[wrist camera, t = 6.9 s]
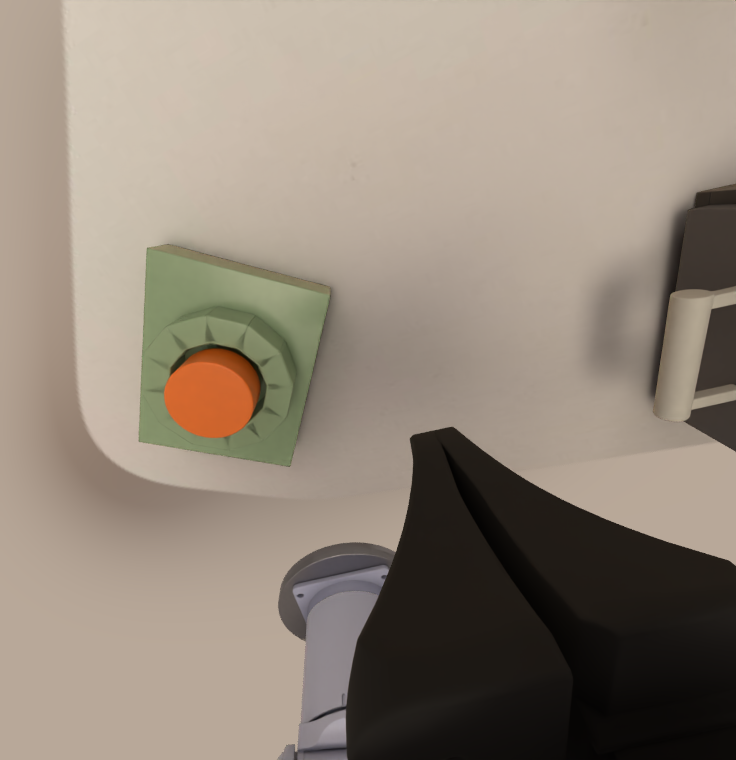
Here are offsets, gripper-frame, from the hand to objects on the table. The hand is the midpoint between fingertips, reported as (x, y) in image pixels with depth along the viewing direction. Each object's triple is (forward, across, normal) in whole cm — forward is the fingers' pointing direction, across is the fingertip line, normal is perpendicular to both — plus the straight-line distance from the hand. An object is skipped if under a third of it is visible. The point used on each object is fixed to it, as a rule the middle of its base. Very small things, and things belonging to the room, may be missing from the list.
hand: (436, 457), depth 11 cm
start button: (+7, +8, -1) cm, 11 cm away
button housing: (+10, +8, -1) cm, 13 cm away
